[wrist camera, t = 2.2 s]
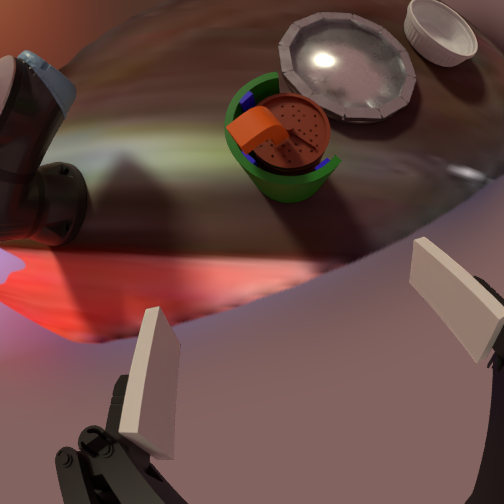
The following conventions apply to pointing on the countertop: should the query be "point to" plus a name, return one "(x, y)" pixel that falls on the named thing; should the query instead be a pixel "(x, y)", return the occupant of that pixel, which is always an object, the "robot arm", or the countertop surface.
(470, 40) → the ramekin
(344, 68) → the tray
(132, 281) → the countertop surface
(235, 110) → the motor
